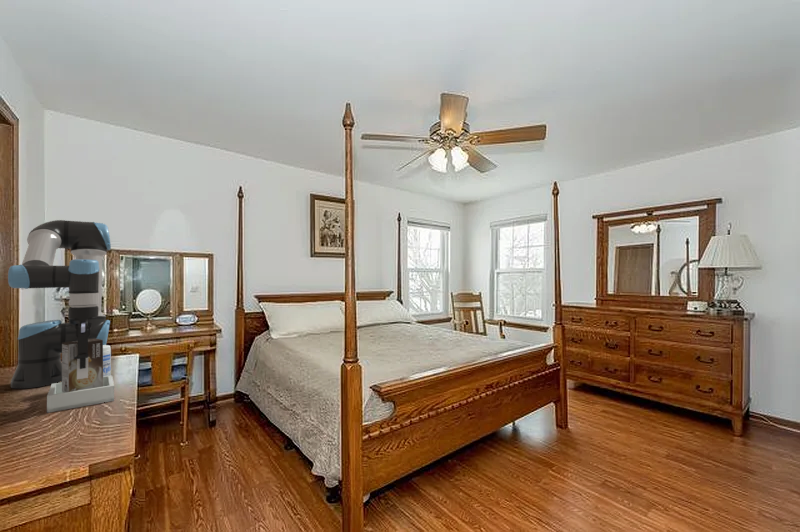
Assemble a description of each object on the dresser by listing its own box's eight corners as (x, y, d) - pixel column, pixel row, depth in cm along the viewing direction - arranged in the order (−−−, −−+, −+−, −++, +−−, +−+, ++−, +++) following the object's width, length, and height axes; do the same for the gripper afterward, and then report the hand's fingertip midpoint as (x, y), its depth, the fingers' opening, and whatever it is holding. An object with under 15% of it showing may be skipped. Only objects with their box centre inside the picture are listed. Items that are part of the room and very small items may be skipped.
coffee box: (95, 384, 125) (96, 337, 125) (103, 387, 122) (104, 339, 122) (60, 391, 117) (61, 342, 118) (67, 395, 114) (68, 344, 114)
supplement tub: (108, 388, 133) (109, 348, 133) (74, 393, 128) (75, 351, 128) (111, 381, 141) (112, 343, 141) (79, 385, 136) (80, 346, 136)
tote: (51, 398, 122) (51, 383, 122) (112, 388, 132) (112, 375, 132) (46, 412, 110) (47, 396, 110) (114, 400, 120) (114, 385, 120)
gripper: (69, 304, 125) (68, 371, 125) (66, 309, 110) (65, 385, 109) (98, 303, 130) (97, 367, 130) (98, 307, 115) (97, 380, 114)
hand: (82, 375), depth 120 cm, fingers closed on coffee box, 7 cm apart
